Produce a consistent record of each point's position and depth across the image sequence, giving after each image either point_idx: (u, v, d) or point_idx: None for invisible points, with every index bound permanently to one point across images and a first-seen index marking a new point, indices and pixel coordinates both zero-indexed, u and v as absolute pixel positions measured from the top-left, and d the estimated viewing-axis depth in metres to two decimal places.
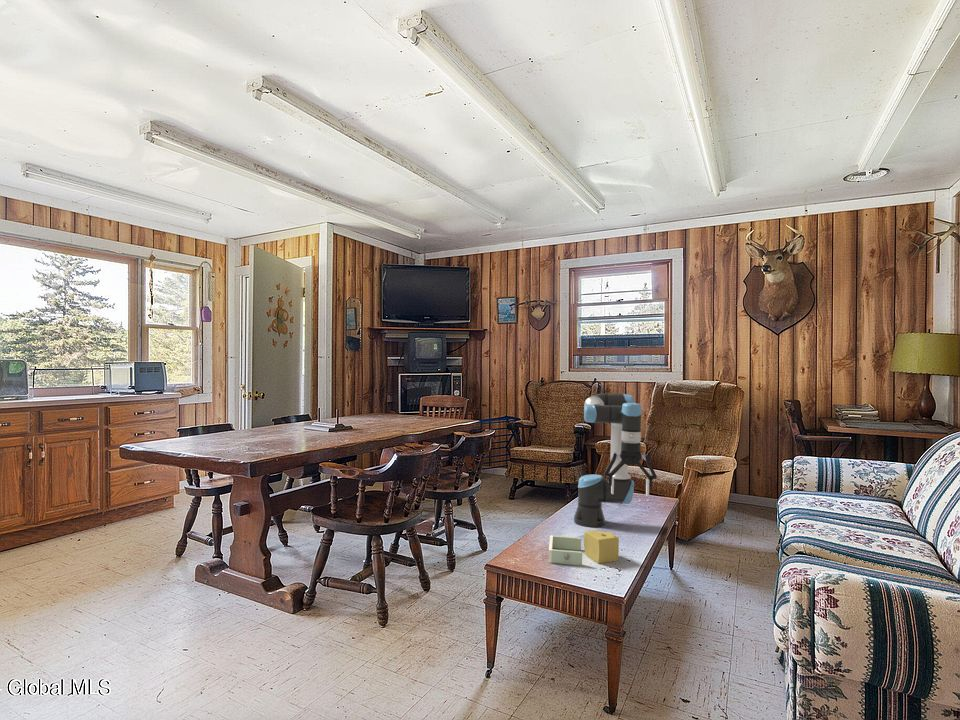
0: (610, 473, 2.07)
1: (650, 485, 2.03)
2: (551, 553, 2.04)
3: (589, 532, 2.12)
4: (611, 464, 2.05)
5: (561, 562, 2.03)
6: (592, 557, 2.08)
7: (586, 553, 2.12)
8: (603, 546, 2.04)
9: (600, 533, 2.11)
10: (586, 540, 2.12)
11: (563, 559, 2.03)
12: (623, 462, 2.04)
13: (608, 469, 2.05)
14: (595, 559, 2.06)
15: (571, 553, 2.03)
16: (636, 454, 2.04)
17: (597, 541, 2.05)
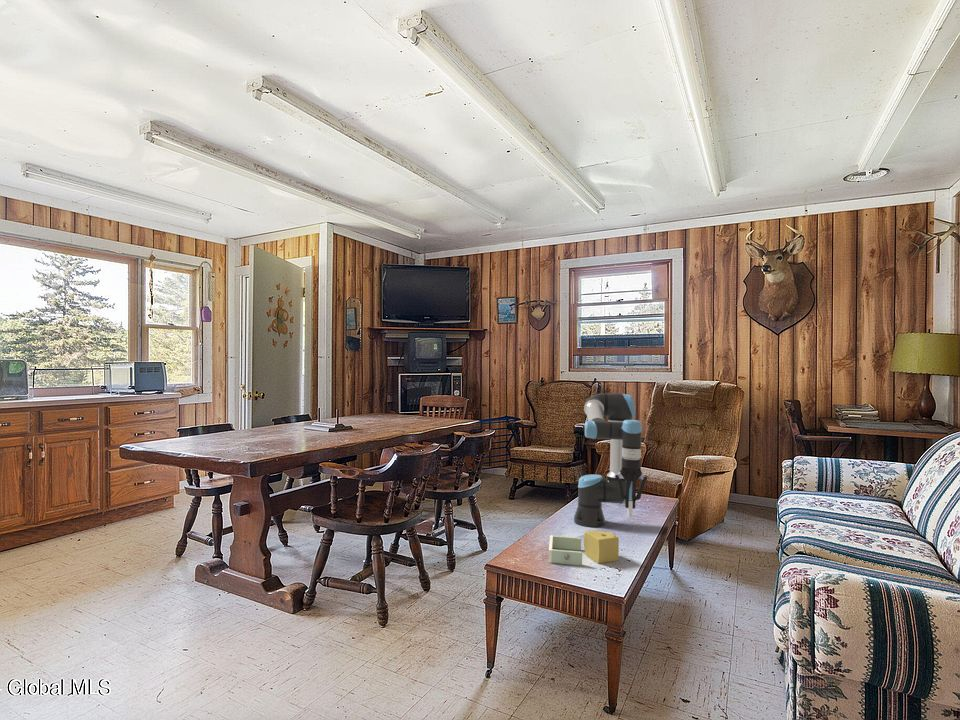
0: None
1: (633, 506, 2.07)
2: (551, 553, 2.04)
3: (589, 532, 2.12)
4: (620, 486, 2.08)
5: (561, 562, 2.03)
6: (592, 557, 2.08)
7: (586, 553, 2.12)
8: (603, 546, 2.04)
9: (600, 533, 2.11)
10: (586, 540, 2.12)
11: (563, 559, 2.03)
12: (627, 480, 2.07)
13: (621, 491, 2.08)
14: (595, 559, 2.06)
15: (571, 553, 2.03)
16: (638, 470, 2.07)
17: (597, 541, 2.05)
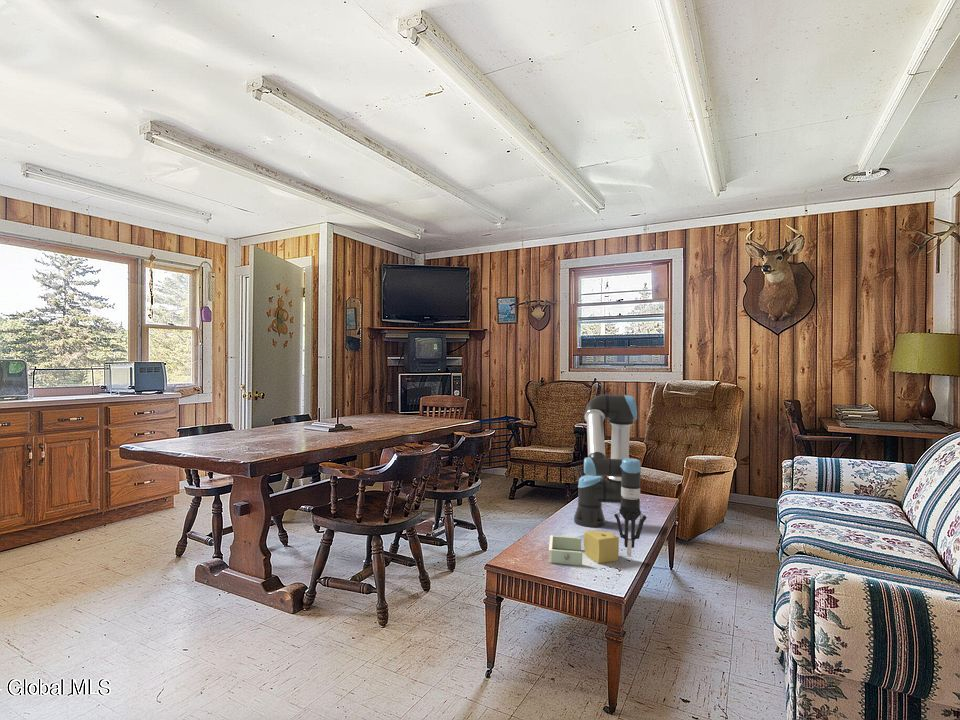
0: None
1: (632, 545, 2.07)
2: (551, 553, 2.04)
3: (589, 532, 2.12)
4: (619, 525, 2.08)
5: (561, 562, 2.03)
6: (592, 557, 2.08)
7: (586, 553, 2.12)
8: (603, 546, 2.04)
9: (600, 533, 2.11)
10: (586, 540, 2.12)
11: (563, 559, 2.03)
12: (626, 520, 2.07)
13: (620, 531, 2.08)
14: (595, 559, 2.06)
15: (571, 553, 2.03)
16: (637, 509, 2.07)
17: (597, 541, 2.05)
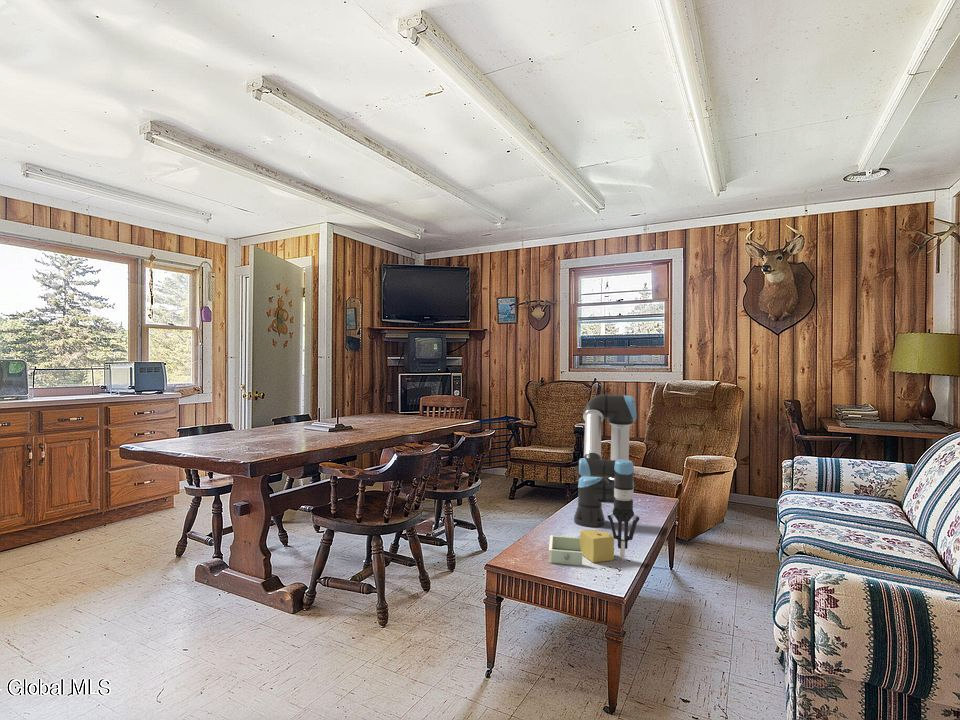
0: (618, 536, 2.10)
1: (626, 546, 2.08)
2: (551, 553, 2.04)
3: (585, 531, 2.12)
4: (612, 526, 2.08)
5: (561, 562, 2.03)
6: (587, 556, 2.08)
7: (582, 552, 2.13)
8: (597, 545, 2.05)
9: (596, 532, 2.12)
10: (582, 539, 2.12)
11: (563, 559, 2.03)
12: (620, 521, 2.07)
13: (613, 532, 2.08)
14: (590, 558, 2.06)
15: (571, 553, 2.03)
16: (631, 510, 2.07)
17: (592, 540, 2.05)
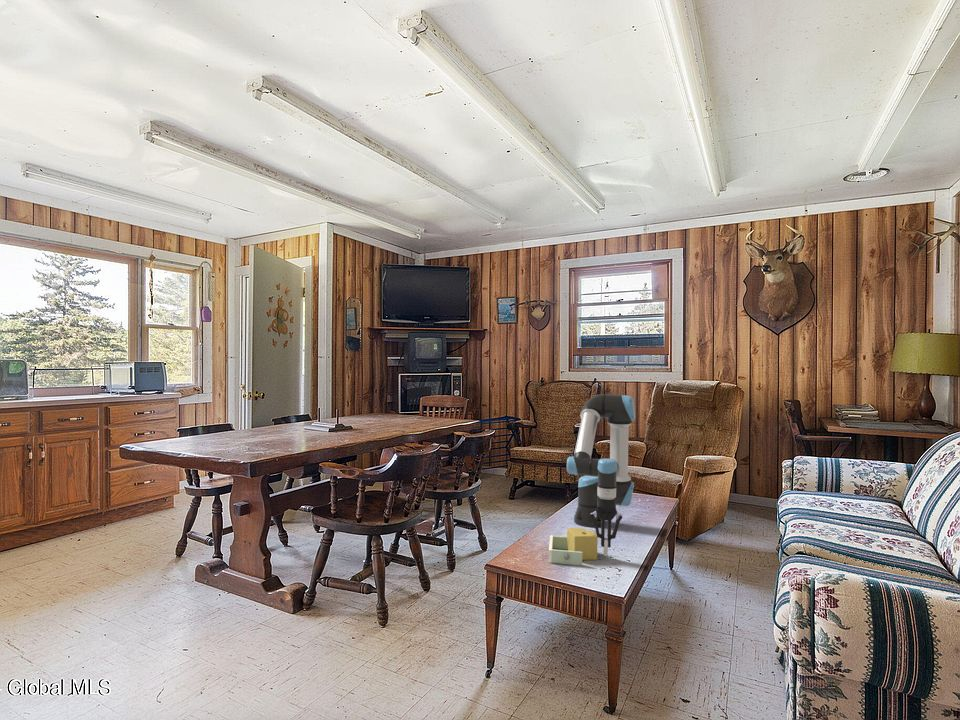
0: None
1: (609, 545, 2.09)
2: (551, 553, 2.04)
3: (571, 529, 2.15)
4: (596, 525, 2.09)
5: (561, 562, 2.03)
6: None
7: (568, 549, 2.15)
8: (578, 543, 2.07)
9: (582, 531, 2.13)
10: (568, 536, 2.15)
11: (563, 559, 2.03)
12: (603, 519, 2.08)
13: (597, 530, 2.09)
14: None
15: (571, 553, 2.03)
16: (614, 509, 2.08)
17: (573, 538, 2.08)
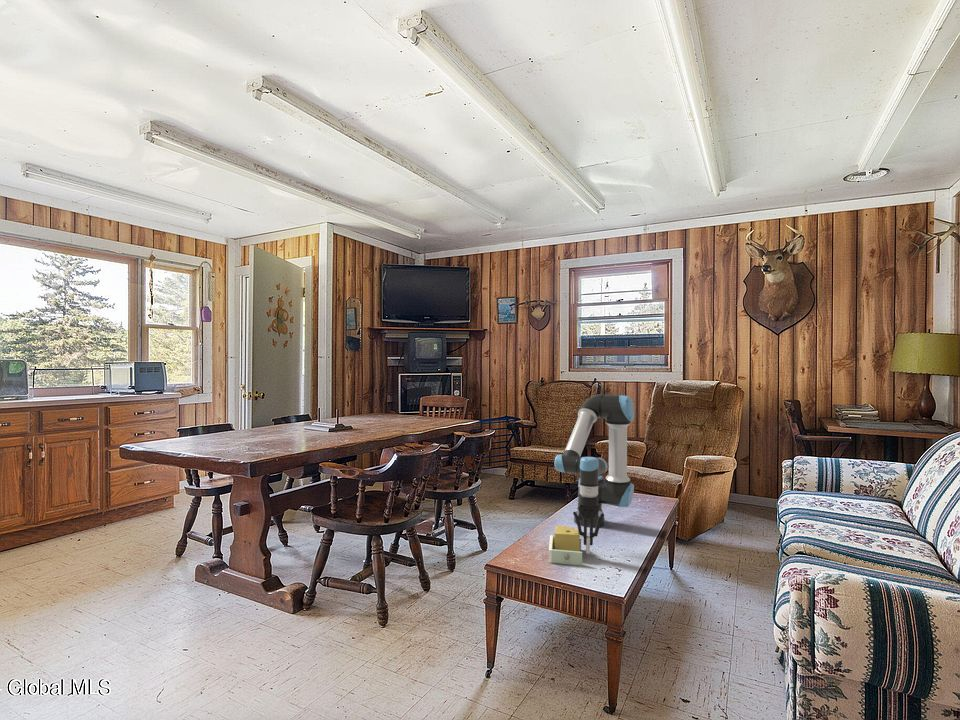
0: None
1: (591, 543, 2.10)
2: (551, 553, 2.04)
3: (558, 527, 2.18)
4: (578, 523, 2.10)
5: (561, 562, 2.03)
6: None
7: None
8: (559, 541, 2.09)
9: (567, 529, 2.15)
10: None
11: (563, 559, 2.03)
12: (585, 517, 2.09)
13: (579, 528, 2.10)
14: None
15: (571, 553, 2.03)
16: (596, 507, 2.09)
17: (555, 535, 2.11)
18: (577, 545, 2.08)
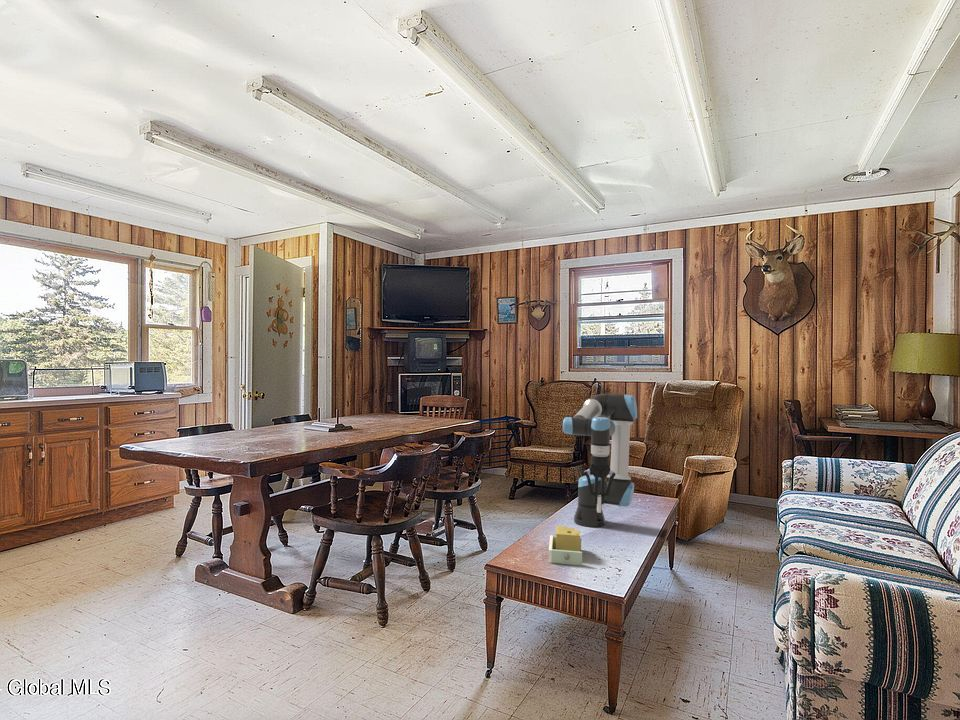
0: (595, 492, 2.13)
1: (602, 502, 2.11)
2: (551, 553, 2.04)
3: (559, 527, 2.18)
4: (589, 482, 2.11)
5: (561, 562, 2.03)
6: None
7: None
8: (560, 541, 2.09)
9: (568, 530, 2.15)
10: None
11: (563, 559, 2.03)
12: (596, 477, 2.10)
13: (590, 488, 2.11)
14: None
15: (571, 553, 2.03)
16: (607, 466, 2.10)
17: (556, 535, 2.11)
18: (578, 546, 2.08)
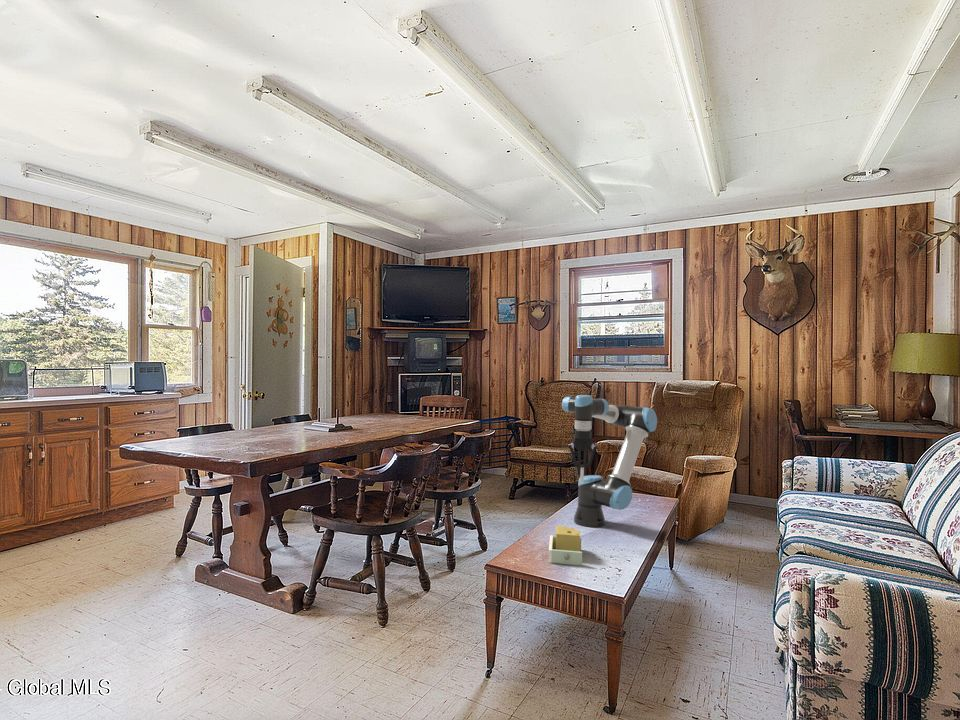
0: None
1: (585, 473, 2.28)
2: (551, 553, 2.04)
3: (559, 527, 2.17)
4: (573, 455, 2.29)
5: (561, 562, 2.03)
6: None
7: None
8: (560, 541, 2.09)
9: (568, 530, 2.15)
10: None
11: (563, 559, 2.03)
12: (579, 449, 2.28)
13: (574, 460, 2.29)
14: None
15: (571, 553, 2.03)
16: (589, 440, 2.28)
17: (556, 535, 2.11)
18: (578, 546, 2.08)
